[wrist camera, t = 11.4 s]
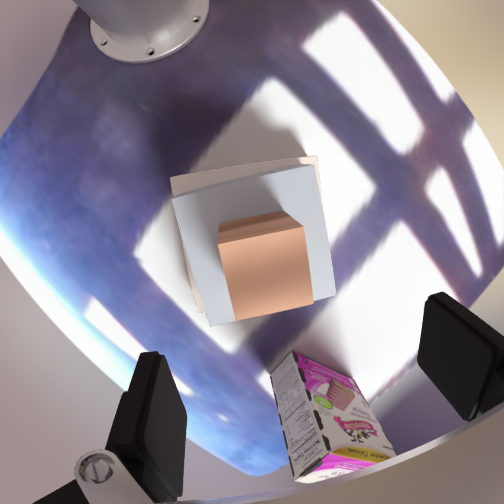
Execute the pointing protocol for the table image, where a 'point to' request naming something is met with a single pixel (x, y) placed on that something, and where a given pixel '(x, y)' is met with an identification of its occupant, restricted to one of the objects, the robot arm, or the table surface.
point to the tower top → (243, 206)
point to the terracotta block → (265, 264)
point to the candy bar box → (325, 421)
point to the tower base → (224, 174)
